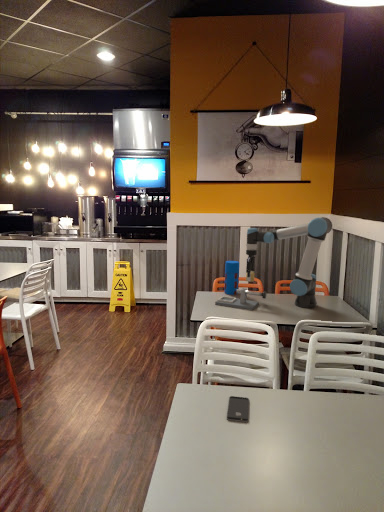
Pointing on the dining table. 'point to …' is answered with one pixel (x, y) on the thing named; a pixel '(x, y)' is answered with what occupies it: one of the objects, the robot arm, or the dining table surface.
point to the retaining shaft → (254, 293)
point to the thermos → (231, 277)
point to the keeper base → (237, 301)
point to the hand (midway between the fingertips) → (250, 280)
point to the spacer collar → (251, 277)
